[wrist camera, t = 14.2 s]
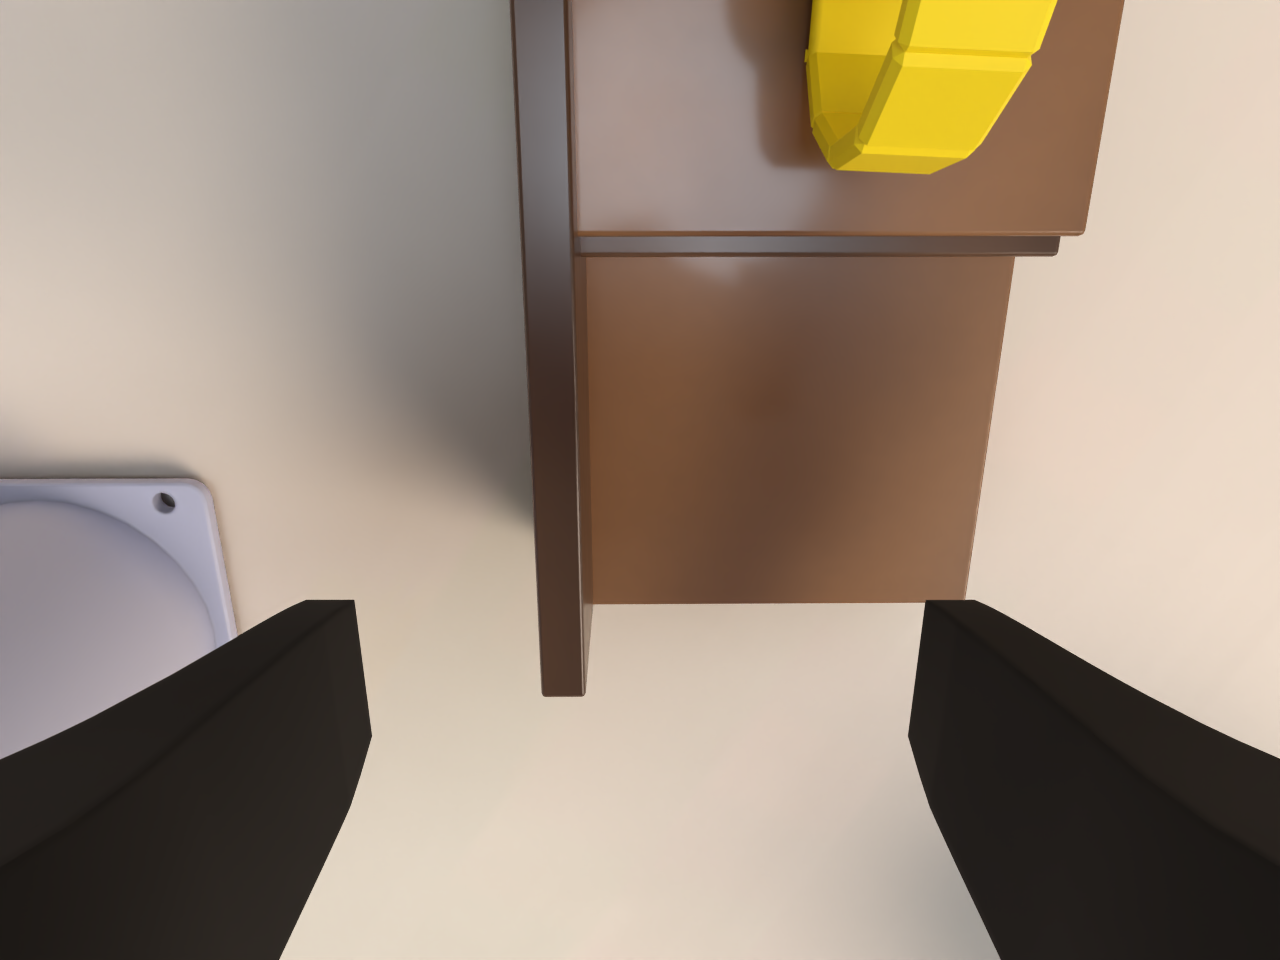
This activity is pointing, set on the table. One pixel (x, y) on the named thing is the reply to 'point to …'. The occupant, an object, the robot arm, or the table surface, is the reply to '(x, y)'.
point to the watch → (915, 77)
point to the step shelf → (763, 311)
